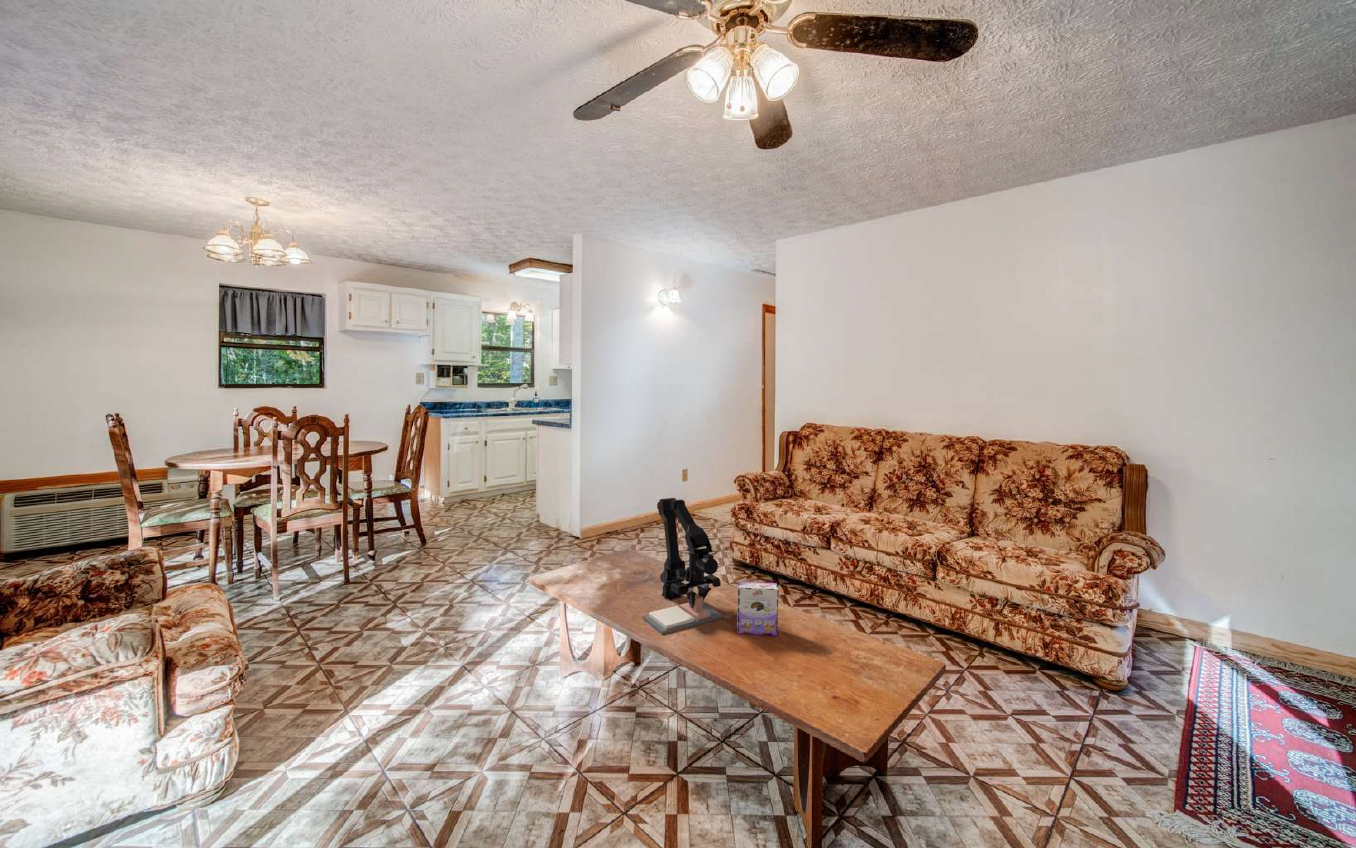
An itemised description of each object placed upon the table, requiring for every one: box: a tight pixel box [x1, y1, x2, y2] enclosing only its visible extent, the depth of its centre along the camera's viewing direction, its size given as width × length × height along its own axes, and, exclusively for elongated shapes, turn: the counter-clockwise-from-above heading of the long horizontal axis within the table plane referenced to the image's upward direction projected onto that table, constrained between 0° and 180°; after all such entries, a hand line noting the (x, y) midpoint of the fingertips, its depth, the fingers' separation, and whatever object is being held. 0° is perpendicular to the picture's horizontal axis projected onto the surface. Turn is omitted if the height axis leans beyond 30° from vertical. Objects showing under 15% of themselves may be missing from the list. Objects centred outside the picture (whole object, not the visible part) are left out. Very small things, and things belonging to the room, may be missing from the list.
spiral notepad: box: [648, 605, 695, 629], centre depth 188 cm, size 13×12×1 cm
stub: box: [679, 592, 711, 620], centre depth 193 cm, size 6×12×6 cm, turn 32°
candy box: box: [736, 581, 779, 636], centre depth 181 cm, size 14×6×16 cm, turn 84°
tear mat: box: [641, 602, 724, 635], centre depth 190 cm, size 26×14×1 cm, turn 122°
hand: (695, 607), depth 193 cm, fingers closed on stub, 3 cm apart
